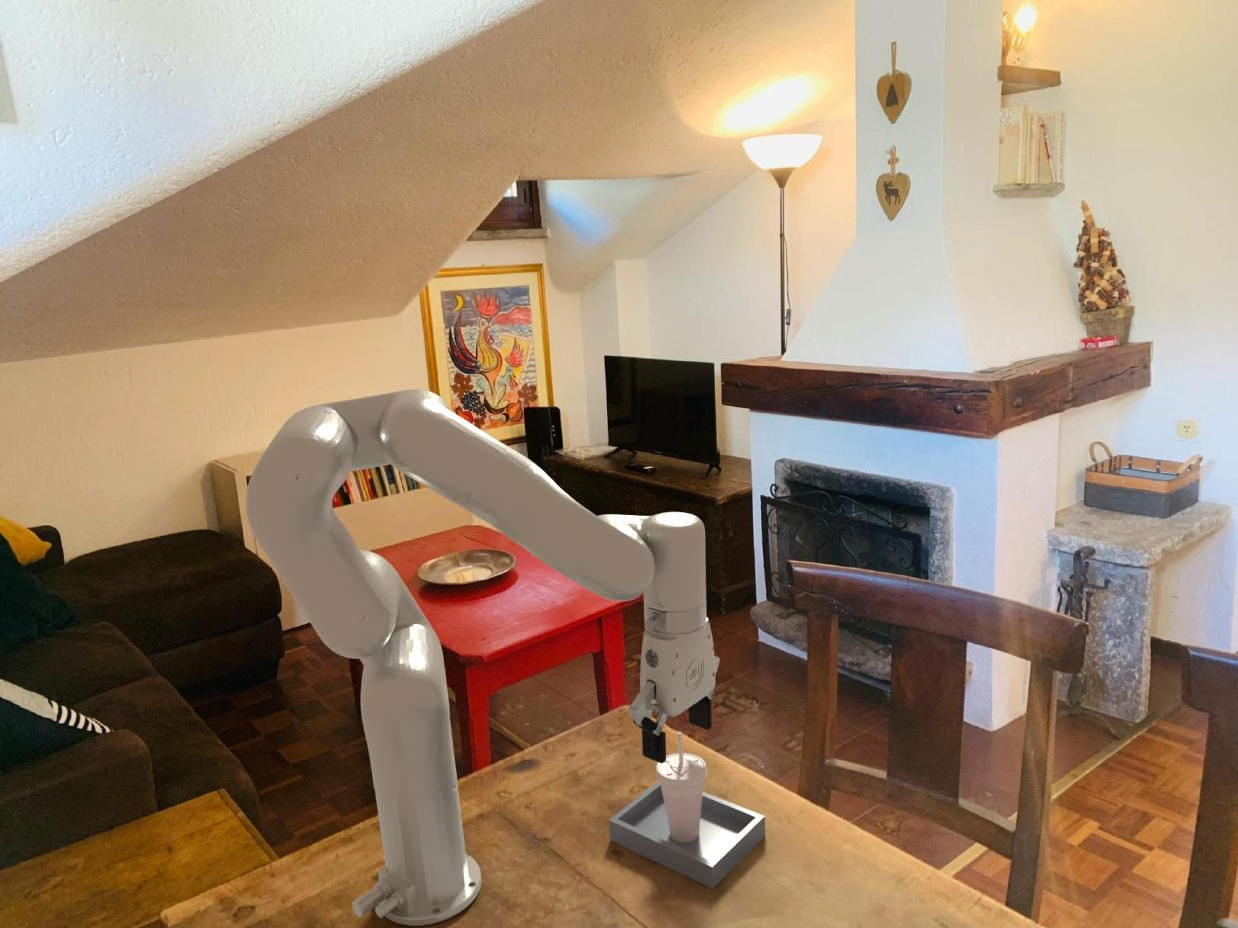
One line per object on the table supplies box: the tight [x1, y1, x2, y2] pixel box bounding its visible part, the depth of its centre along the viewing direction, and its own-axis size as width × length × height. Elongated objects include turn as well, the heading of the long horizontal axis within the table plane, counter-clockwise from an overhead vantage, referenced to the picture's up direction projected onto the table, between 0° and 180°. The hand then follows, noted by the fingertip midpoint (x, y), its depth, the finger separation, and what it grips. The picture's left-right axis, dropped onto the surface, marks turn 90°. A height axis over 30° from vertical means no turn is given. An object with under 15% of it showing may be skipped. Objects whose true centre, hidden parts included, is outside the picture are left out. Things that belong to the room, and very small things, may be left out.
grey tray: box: [608, 780, 766, 890], centre depth 120 cm, size 12×16×3 cm
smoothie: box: [655, 731, 708, 842], centre depth 118 cm, size 6×6×14 cm
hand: (678, 741), depth 116 cm, fingers open, 9 cm apart
